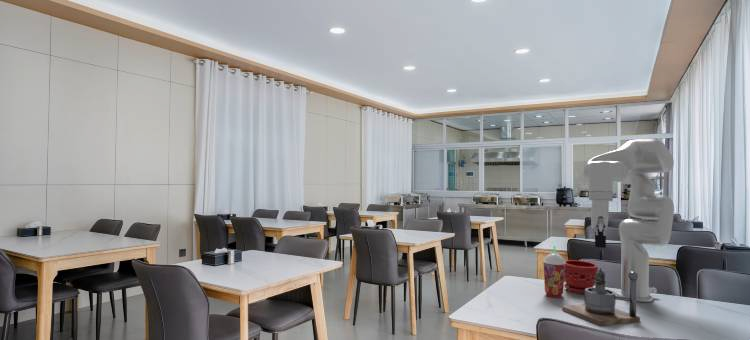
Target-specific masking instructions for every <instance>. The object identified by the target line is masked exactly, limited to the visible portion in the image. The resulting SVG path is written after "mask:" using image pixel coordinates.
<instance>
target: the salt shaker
mask: <svg viewBox="0 0 750 340" xmlns="http://www.w3.org/2000/svg"><path fill="white" fill-rule="evenodd" d="M606 283H607V282H606V273H605V271H603V270H602V268H601V267H599V269H598V271H597V272H596V280H595V284H594V286H595V287H594V288H595V289H594V290H591V292H593V293H599V294H610V293H609V292H607V291H606V290H605V289H606Z"/></svg>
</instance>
